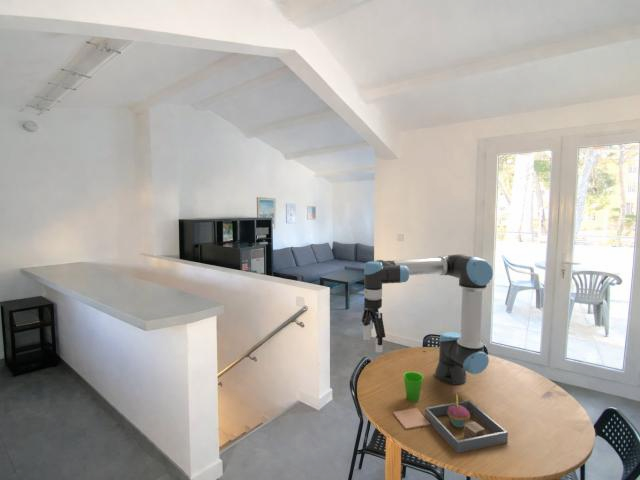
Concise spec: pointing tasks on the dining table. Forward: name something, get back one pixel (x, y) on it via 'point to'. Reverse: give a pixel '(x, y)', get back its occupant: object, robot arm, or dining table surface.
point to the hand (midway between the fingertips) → (372, 345)
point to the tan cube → (473, 430)
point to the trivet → (411, 418)
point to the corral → (471, 443)
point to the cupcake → (458, 414)
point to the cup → (413, 385)
